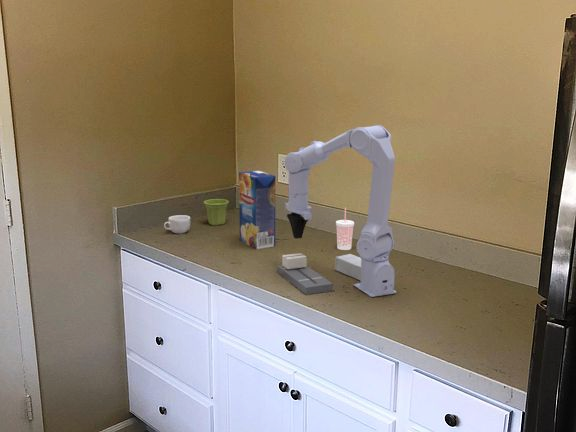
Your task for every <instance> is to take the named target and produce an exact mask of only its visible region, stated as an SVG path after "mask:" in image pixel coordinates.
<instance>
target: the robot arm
mask: <svg viewBox="0 0 576 432" xmlns="http://www.w3.org/2000/svg"><path fill="white" fill-rule="evenodd" d="M391 141H392V134H391V133H390V132H389V130H387V129H386V128H385V127H384V126H383V125H381V124H375V125H373V126H359V127H355V128H353V129H349V130H347V131H345V132H343V133H341V134H339V135H337V136H336V137H334V138H331V139H330V140H328V141H327V142H323V141H317V140H313V141H311V142H310V145H308V146H305V147H300V148H299V149H298V151H296V152H294V151H293V152H292V151H291V152H289V153H287V155H286V156H285V157H284V167H285V169H286V170H287V172H288V201H287V202H285V207H284V208H285V210H287V211H288V212H290V213H287V214H286V217H287V219H288V222H289V224H290V227H291V232H292V236H293V239H295V240H296V239H298V240H299V239H302V238H303V235H304V231H305V227H306V225H307V222H308V221H309V220H312V217H313V214H312V212H311V211H310V210H312V206H310V205H309V176H310V171H311V169H312V167H314V166H317V165H319V164H322V163H324V162H326V161H327V160H328V159H329V158H330V154H333V153H335V152H338V151H340V150H343V149H346V148H348V149H349V148H350V149H351V148H352V149H353V150H354V151H355V152H357V153H358V154H360V155H362V156H363V157H364V158H366V159H367V160H368V162H370V163H371V164H372V171H371V172H372V173H371V182H370V190H369V199H368V200H369V201H368V212H367V218H366V223H365V225H364V226H363V228H362V229H361V231H360V237H359V239H358V240H357V243H356V251H357V254H358V255H359V257H360V258H361V281H360V282H359V283H354V284H353V286H354V287H355V288H357V289H359V291H361V292H363V293H365V294H366V295H367V296H368V297H370V298H373V297H380V296H387V295H392V294H397V290H395V273H396V272H395V269H394V266H393V265H391V263H390V262H389V260H390V259H389V257H390V252H391V251H392V250H393V248H394V245H395V242H394V237H393V228H392V227H391V226H390V225H389V218H390V217H389V215H390V206H391V198H392V190H393V180H394V174H395V173H394V172H395V165H396V156H395V153H394V149H393V146H392V143H391Z"/></svg>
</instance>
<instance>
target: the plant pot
mask: <svg viewBox="0 0 576 432" xmlns="http://www.w3.org/2000/svg"><path fill="white" fill-rule="evenodd" d="M228 203H229V200H227V199H223V198H216V199H215V198H214V199H207V200H204V201H203V204H204V206H205V208H206V209H205V210H206V213H207V219H208V224H209V225H212V226H220V225H224V224H225V223H226V218H227V217H226V215H227V214H226V213H227V207H228Z"/></svg>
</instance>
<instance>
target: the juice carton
mask: <svg viewBox="0 0 576 432" xmlns="http://www.w3.org/2000/svg"><path fill="white" fill-rule="evenodd" d="M238 184H239V185H238V186H239V187H238V192H239V193H238V194H239V195H238V196H239V197H238V200H239V205H238V206H239V207H238V208H239V241H240V242H242V243H243V244H245V245H247V246H249V247H250V248H252V249H254V250H260V249H267V248H271V247H276V175H274V174H271V173H268V172H264V171H261V170H250V171H239V172H238Z"/></svg>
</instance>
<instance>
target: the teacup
mask: <svg viewBox="0 0 576 432" xmlns="http://www.w3.org/2000/svg"><path fill="white" fill-rule="evenodd" d="M166 224H168V227H167V225H166ZM190 226H191V216H189V215H183V214H181V215H180V214H179V215H171V216H169V217H168V221H166V222H164V224H163V227H164V229H166V230H169V231H171V232H172V233H174V234H180V235H181V234H185V233H187V232H188V231H189V230H190Z"/></svg>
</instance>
